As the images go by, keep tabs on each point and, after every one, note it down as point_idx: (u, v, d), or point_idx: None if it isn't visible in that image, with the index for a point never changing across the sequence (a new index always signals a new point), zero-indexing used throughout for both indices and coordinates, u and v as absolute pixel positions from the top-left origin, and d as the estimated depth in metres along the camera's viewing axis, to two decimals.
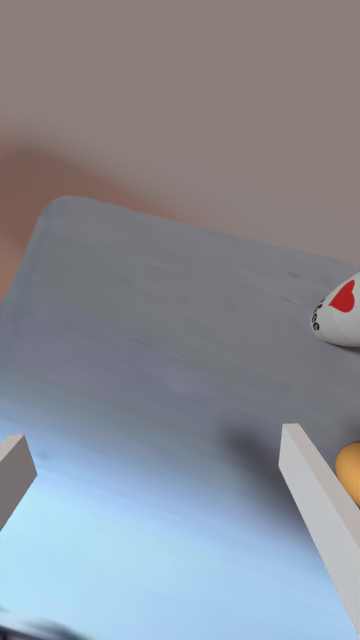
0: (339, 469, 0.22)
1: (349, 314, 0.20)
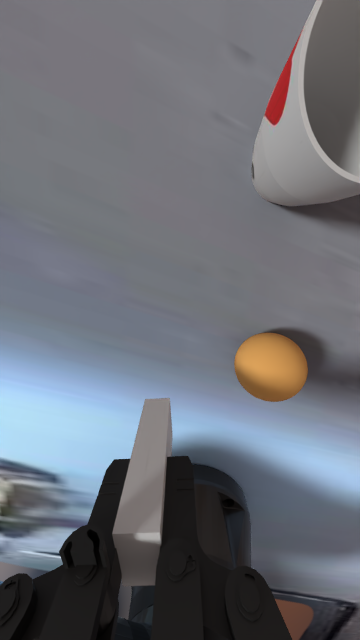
0: (235, 359, 0.19)
1: (279, 128, 0.10)
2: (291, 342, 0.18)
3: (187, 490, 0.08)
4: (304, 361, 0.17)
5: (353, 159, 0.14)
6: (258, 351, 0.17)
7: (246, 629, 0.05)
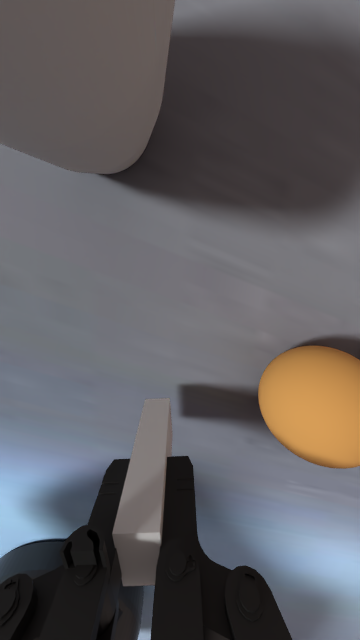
0: None
1: None
2: (279, 360, 0.12)
3: (187, 490, 0.08)
4: (260, 382, 0.12)
5: None
6: None
7: (246, 629, 0.05)
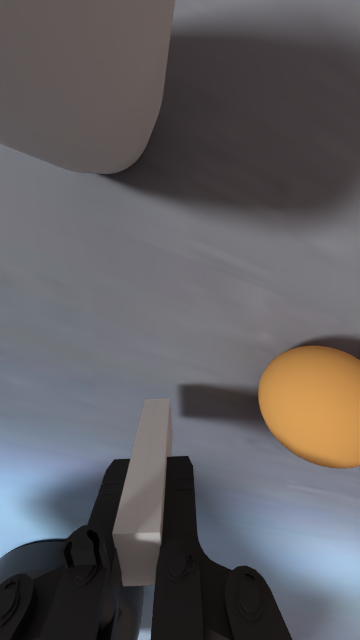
0: None
1: None
2: (279, 360, 0.12)
3: (187, 490, 0.08)
4: (260, 382, 0.12)
5: None
6: None
7: (246, 629, 0.05)
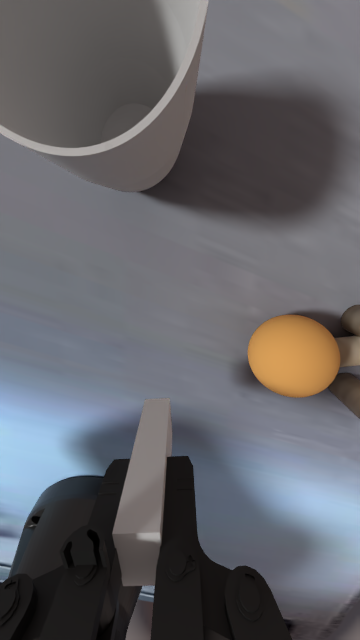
0: None
1: None
2: (262, 325, 0.16)
3: (187, 490, 0.08)
4: (249, 342, 0.17)
5: None
6: None
7: (246, 629, 0.05)
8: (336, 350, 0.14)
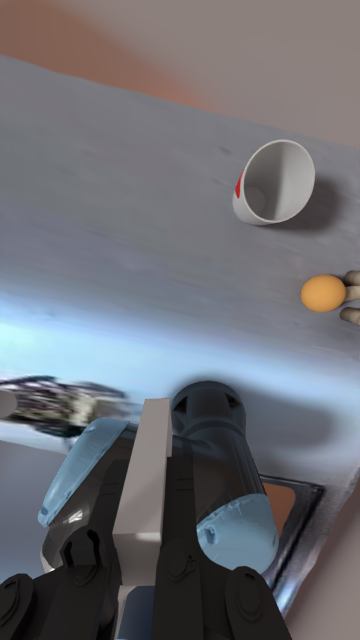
0: None
1: (239, 200, 0.26)
2: (308, 280, 0.34)
3: (187, 490, 0.08)
4: (301, 290, 0.35)
5: (280, 202, 0.30)
6: None
7: (246, 629, 0.05)
8: (343, 286, 0.32)
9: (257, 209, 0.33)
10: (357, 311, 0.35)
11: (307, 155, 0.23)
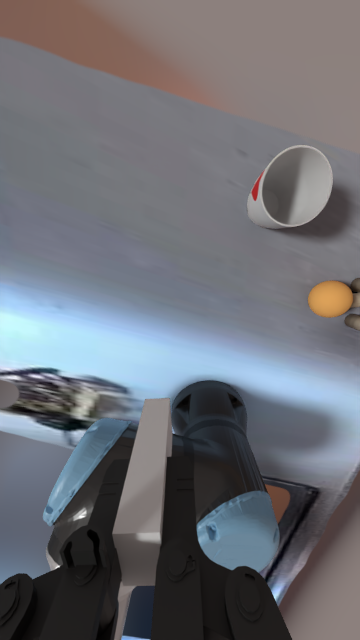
0: None
1: (256, 203, 0.26)
2: (316, 285, 0.35)
3: (187, 490, 0.08)
4: (309, 295, 0.35)
5: (294, 206, 0.30)
6: None
7: (246, 629, 0.05)
8: (351, 293, 0.32)
9: (270, 213, 0.34)
10: None
11: (326, 162, 0.23)
